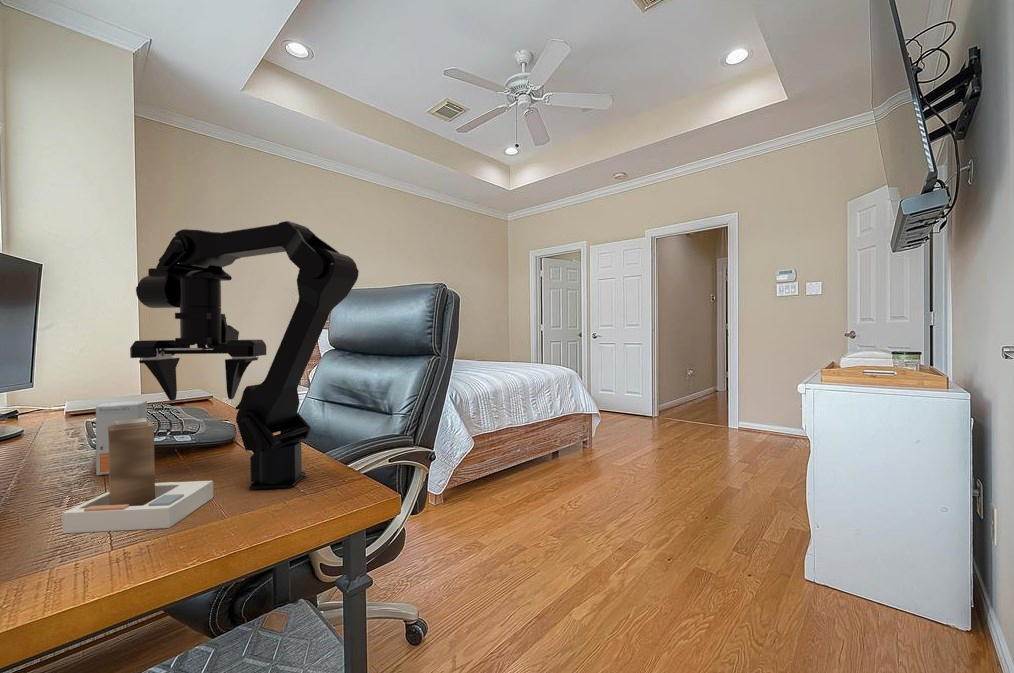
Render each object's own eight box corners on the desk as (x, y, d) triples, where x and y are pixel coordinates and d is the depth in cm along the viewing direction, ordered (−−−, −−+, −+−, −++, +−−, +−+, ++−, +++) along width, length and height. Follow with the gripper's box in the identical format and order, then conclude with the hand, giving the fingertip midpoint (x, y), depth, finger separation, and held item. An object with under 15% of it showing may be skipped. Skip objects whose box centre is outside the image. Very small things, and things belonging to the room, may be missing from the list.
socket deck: (213, 497, 64) (213, 478, 64) (169, 527, 55) (168, 505, 54) (124, 501, 63) (124, 482, 63) (62, 533, 53) (62, 510, 53)
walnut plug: (151, 505, 62) (150, 416, 62) (155, 514, 59) (153, 421, 58) (109, 514, 59) (108, 421, 58) (111, 525, 55) (109, 426, 55)
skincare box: (95, 476, 74) (93, 406, 74) (106, 469, 78) (105, 402, 78) (140, 471, 76) (138, 403, 76) (148, 465, 80) (147, 400, 80)
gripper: (278, 309, 83) (279, 391, 83) (172, 309, 81) (173, 393, 81) (251, 306, 72) (252, 401, 72) (126, 306, 69) (128, 403, 70)
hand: (202, 399), depth 74 cm, fingers open, 9 cm apart
